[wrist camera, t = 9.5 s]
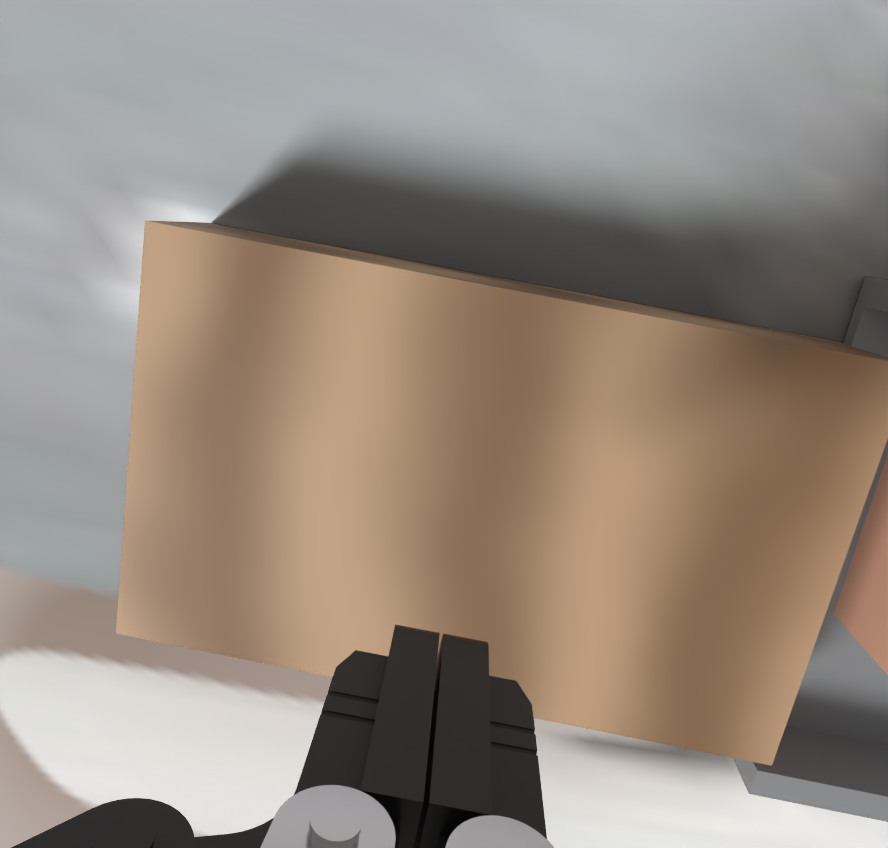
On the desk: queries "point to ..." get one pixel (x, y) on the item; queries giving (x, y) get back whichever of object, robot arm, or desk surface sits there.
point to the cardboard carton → (490, 481)
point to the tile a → (869, 580)
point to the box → (838, 674)
